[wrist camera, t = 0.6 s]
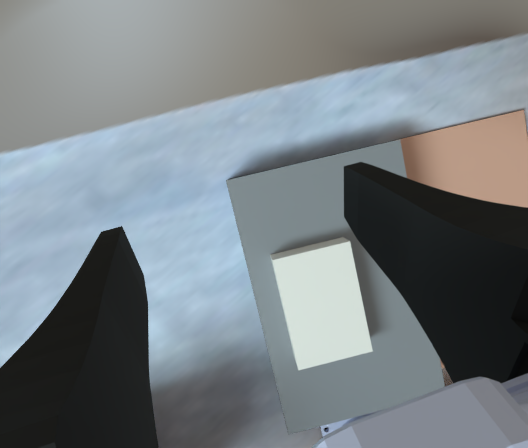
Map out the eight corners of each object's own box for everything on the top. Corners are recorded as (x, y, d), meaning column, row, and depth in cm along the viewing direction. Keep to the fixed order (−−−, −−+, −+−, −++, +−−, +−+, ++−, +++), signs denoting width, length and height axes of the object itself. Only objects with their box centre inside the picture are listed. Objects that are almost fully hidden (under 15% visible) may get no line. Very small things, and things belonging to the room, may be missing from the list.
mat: (551, 337, 38) (554, 338, 38) (434, 367, 38) (436, 369, 37) (520, 110, 35) (523, 109, 35) (392, 140, 35) (394, 140, 34)
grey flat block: (424, 370, 38) (446, 393, 34) (283, 406, 37) (288, 434, 33) (381, 143, 35) (400, 139, 31) (227, 179, 34) (225, 180, 30)
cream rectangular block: (364, 340, 33) (372, 351, 31) (294, 358, 32) (298, 370, 30) (343, 236, 31) (350, 241, 29) (270, 254, 31) (272, 260, 29)
